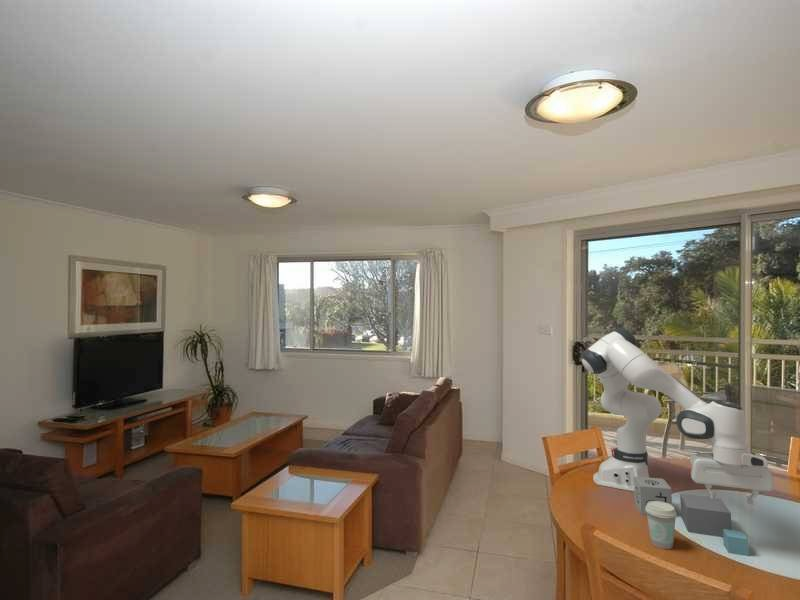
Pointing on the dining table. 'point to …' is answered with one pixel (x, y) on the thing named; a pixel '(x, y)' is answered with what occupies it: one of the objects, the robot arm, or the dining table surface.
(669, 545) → the coffee cup
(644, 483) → the icon cube
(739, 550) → the teal block
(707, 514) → the grey block
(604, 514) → the dining table surface
